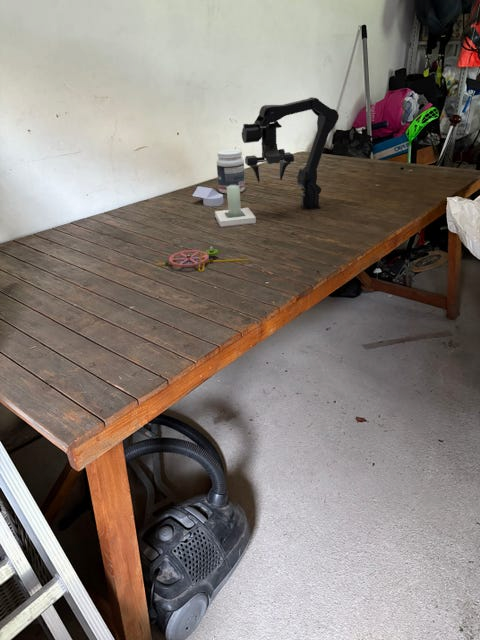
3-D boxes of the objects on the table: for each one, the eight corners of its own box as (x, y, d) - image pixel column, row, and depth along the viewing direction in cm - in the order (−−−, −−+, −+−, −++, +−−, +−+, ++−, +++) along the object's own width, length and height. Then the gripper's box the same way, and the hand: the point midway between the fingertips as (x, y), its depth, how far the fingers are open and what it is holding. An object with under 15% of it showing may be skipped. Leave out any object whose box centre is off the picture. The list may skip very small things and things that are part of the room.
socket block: (248, 213, 210) (248, 207, 208) (255, 223, 197) (255, 217, 196) (215, 216, 207) (214, 211, 206) (220, 227, 195) (220, 221, 194)
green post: (242, 217, 204) (240, 185, 198) (239, 221, 200) (237, 188, 193) (230, 217, 205) (228, 185, 199) (227, 220, 201) (225, 188, 194)
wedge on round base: (192, 203, 227) (214, 207, 220) (191, 188, 224) (213, 192, 217) (205, 198, 233) (227, 202, 226) (204, 183, 230) (226, 187, 223)
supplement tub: (217, 188, 248) (214, 150, 239) (243, 186, 248) (241, 148, 240) (219, 195, 236) (216, 155, 227) (246, 193, 237) (245, 153, 228)
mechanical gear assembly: (159, 257, 171) (154, 277, 159) (157, 246, 169) (152, 265, 156) (246, 252, 172) (249, 271, 159) (246, 241, 169) (248, 259, 157)
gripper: (250, 146, 187) (251, 188, 195) (298, 141, 190) (297, 183, 197) (244, 141, 197) (245, 181, 204) (290, 137, 199) (290, 177, 207)
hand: (269, 181), depth 203 cm, fingers open, 9 cm apart
